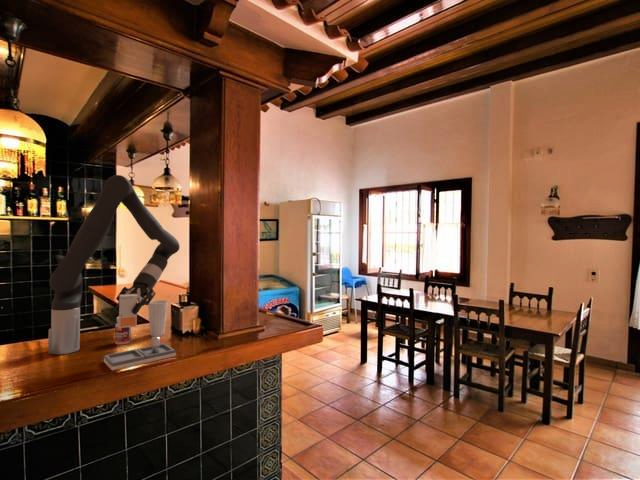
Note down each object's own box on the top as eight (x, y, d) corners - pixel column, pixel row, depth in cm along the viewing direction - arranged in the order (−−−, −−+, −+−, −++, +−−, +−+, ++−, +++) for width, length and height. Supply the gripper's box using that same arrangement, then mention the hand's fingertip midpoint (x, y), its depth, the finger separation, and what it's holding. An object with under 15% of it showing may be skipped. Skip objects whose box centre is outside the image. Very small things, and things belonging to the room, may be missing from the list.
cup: (161, 331, 168) (161, 299, 168) (171, 334, 163) (171, 302, 163) (143, 335, 161) (144, 302, 161) (153, 338, 156) (154, 304, 156)
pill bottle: (113, 345, 146) (114, 319, 145) (115, 341, 151) (116, 315, 151) (130, 344, 148) (130, 317, 148) (131, 340, 154) (132, 314, 154)
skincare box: (118, 328, 127) (118, 296, 127) (118, 325, 131) (119, 294, 130) (137, 326, 130) (137, 295, 130) (137, 324, 133) (137, 293, 133)
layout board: (111, 370, 120) (112, 349, 120) (103, 361, 127) (104, 342, 127) (175, 356, 135) (175, 337, 135) (164, 349, 143) (165, 331, 143)
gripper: (128, 270, 139) (103, 305, 128) (158, 272, 135) (135, 308, 124) (138, 282, 144) (114, 316, 133) (167, 284, 140) (146, 319, 129)
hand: (124, 312), depth 128 cm, fingers closed on skincare box, 7 cm apart
